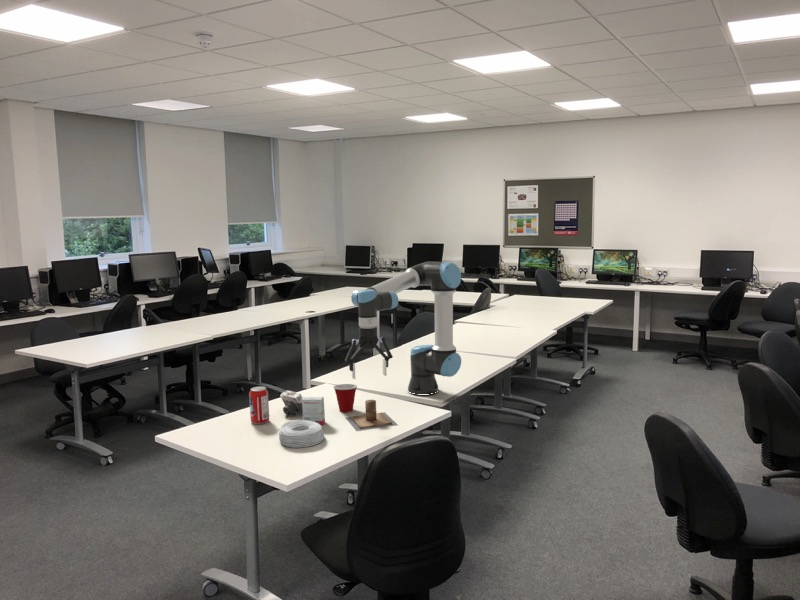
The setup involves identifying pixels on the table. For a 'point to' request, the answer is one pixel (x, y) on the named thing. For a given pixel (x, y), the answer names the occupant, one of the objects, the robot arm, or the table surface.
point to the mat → (370, 427)
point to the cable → (300, 433)
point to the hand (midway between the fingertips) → (369, 376)
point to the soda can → (259, 405)
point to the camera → (292, 402)
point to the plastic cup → (345, 396)
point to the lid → (371, 417)
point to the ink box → (314, 409)
